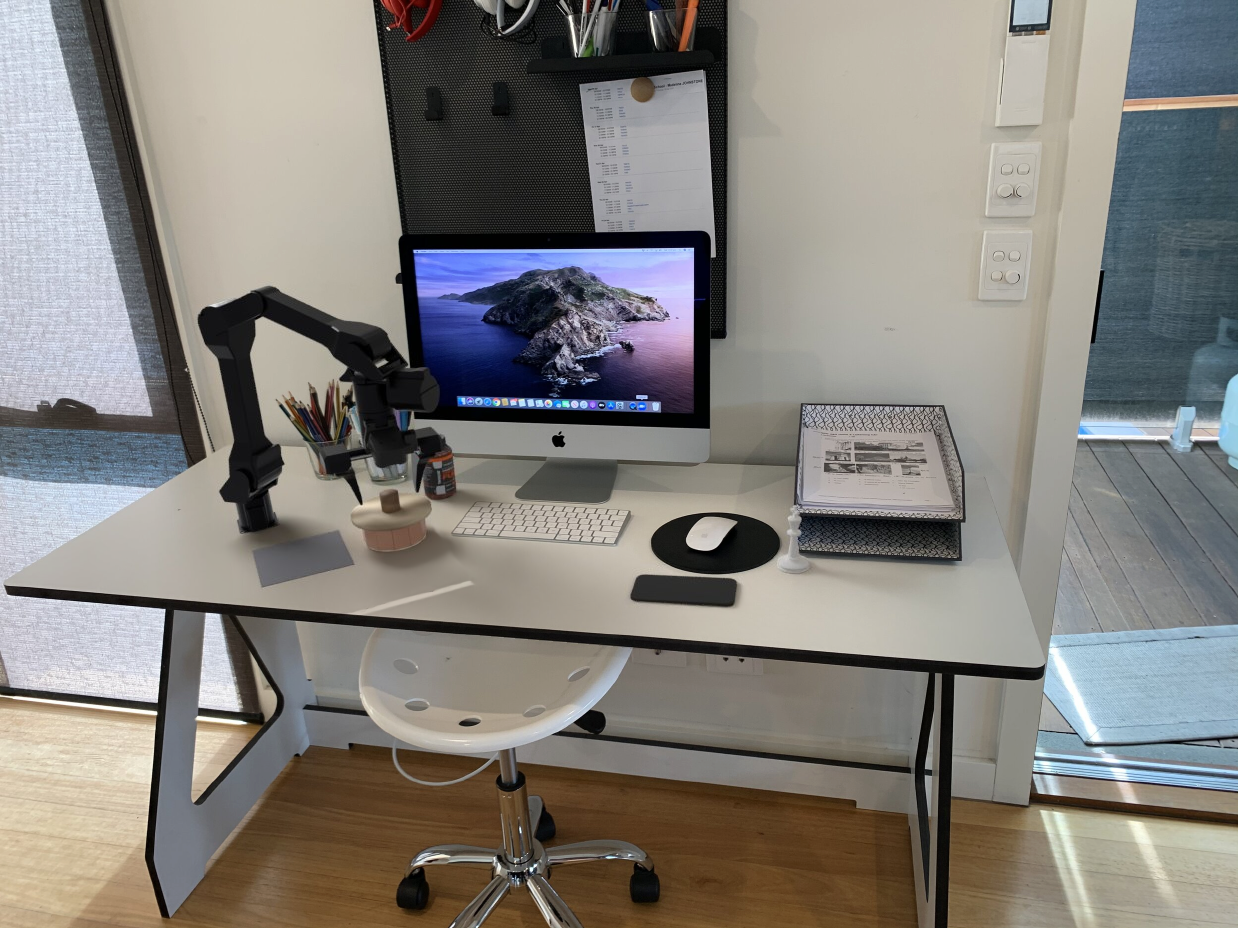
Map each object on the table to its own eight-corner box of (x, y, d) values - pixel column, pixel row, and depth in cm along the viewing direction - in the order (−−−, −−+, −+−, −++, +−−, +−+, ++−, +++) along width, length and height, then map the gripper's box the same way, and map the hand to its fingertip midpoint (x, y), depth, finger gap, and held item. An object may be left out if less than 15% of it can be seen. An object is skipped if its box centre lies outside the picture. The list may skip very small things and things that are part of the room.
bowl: (360, 535, 152) (355, 509, 151) (417, 522, 156) (414, 496, 154) (372, 559, 144) (368, 532, 142) (433, 544, 148) (429, 517, 146)
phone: (637, 573, 135) (737, 577, 132) (637, 578, 136) (737, 582, 133) (628, 598, 129) (733, 604, 126) (629, 603, 129) (733, 609, 126)
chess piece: (790, 576, 133) (792, 516, 129) (770, 563, 137) (771, 504, 133) (816, 568, 135) (819, 507, 131) (796, 555, 139) (797, 496, 135)
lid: (344, 508, 151) (340, 487, 150) (420, 491, 156) (417, 471, 155) (360, 538, 140) (356, 516, 139) (441, 519, 145) (438, 497, 144)
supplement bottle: (450, 500, 164) (442, 443, 160) (419, 499, 165) (411, 442, 161) (461, 487, 170) (455, 431, 165) (432, 486, 171) (424, 431, 167)
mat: (252, 553, 148) (252, 550, 148) (339, 533, 154) (338, 530, 154) (262, 590, 136) (261, 586, 136) (355, 567, 142) (354, 563, 142)
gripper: (323, 434, 131) (340, 530, 137) (447, 411, 138) (458, 503, 144) (311, 413, 140) (328, 504, 146) (428, 392, 148) (439, 479, 154)
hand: (389, 498), depth 147 cm, fingers open, 9 cm apart
